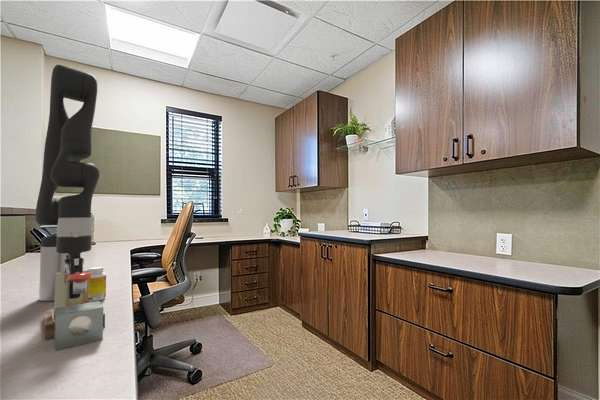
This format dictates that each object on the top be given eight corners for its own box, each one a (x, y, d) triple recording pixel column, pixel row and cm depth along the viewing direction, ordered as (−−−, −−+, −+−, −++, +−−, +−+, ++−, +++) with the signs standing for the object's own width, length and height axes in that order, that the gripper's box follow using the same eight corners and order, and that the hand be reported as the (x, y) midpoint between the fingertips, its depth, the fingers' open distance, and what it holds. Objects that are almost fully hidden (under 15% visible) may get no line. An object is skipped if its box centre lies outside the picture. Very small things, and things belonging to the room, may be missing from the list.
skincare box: (66, 322, 74) (67, 273, 75) (52, 320, 75) (54, 273, 75) (89, 313, 80) (90, 269, 81) (76, 312, 81) (77, 268, 82)
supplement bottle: (108, 299, 94) (109, 267, 94) (87, 303, 89) (88, 270, 90) (102, 296, 97) (102, 265, 98) (82, 300, 93) (83, 268, 93)
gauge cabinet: (53, 341, 63) (55, 308, 63) (98, 331, 68) (99, 300, 68) (55, 351, 58) (56, 316, 58) (102, 339, 63) (103, 307, 64)
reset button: (67, 292, 64) (68, 274, 64) (89, 289, 66) (90, 271, 67) (68, 296, 61) (69, 277, 61) (92, 292, 63) (92, 274, 64)
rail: (44, 319, 76) (44, 307, 76) (94, 309, 83) (95, 299, 84) (44, 340, 63) (45, 326, 63) (104, 326, 70) (105, 314, 71)
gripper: (55, 234, 81) (53, 292, 80) (58, 236, 71) (56, 303, 70) (88, 233, 86) (87, 287, 85) (95, 234, 76) (94, 297, 75)
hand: (73, 294), depth 78 cm, fingers open, 8 cm apart
